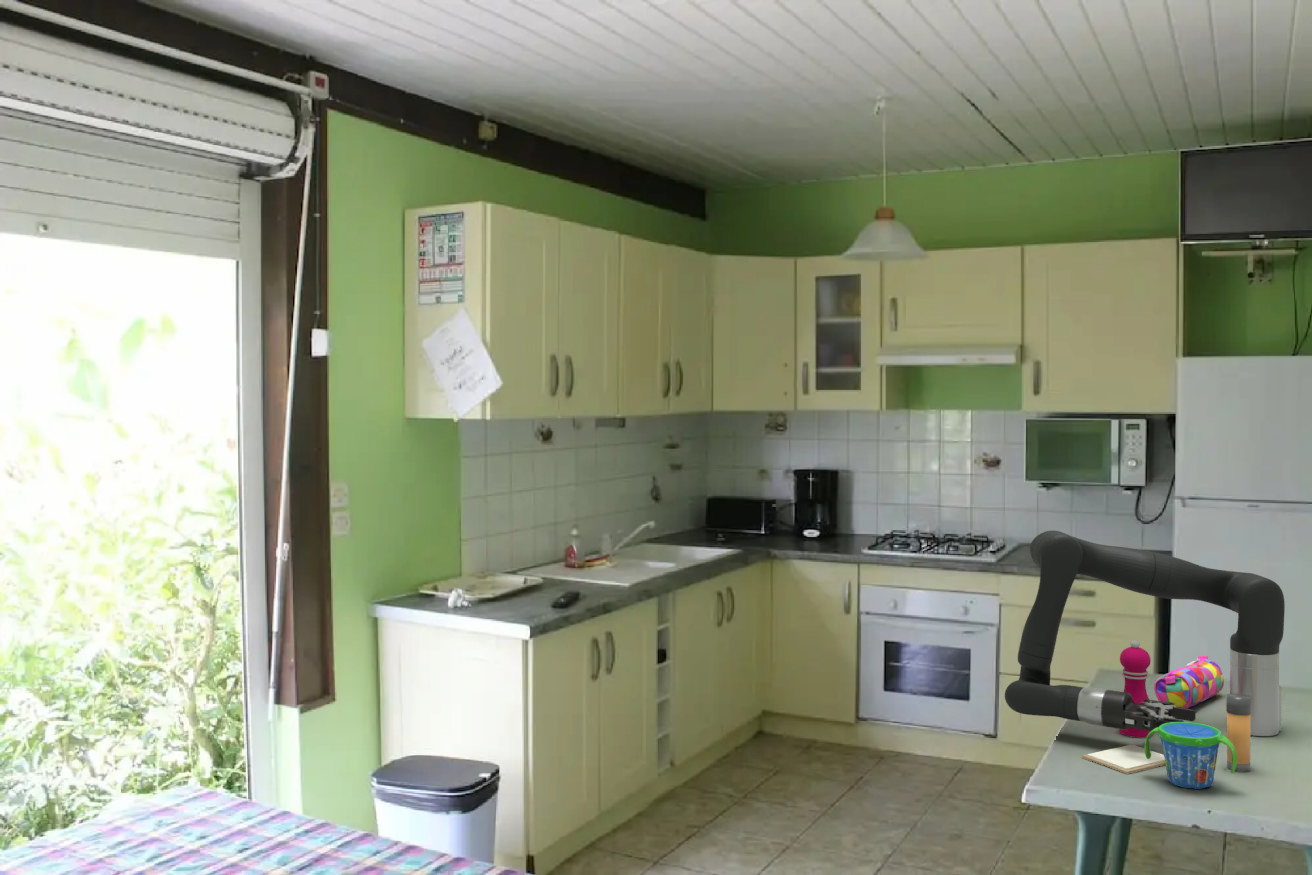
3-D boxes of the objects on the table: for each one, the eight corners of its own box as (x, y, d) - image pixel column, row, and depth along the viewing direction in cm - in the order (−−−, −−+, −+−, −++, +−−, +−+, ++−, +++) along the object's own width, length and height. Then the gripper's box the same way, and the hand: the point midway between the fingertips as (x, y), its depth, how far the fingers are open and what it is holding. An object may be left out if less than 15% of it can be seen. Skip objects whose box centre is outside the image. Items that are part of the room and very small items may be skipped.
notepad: (1131, 746, 230) (1131, 742, 230) (1177, 762, 220) (1177, 758, 220) (1081, 757, 223) (1081, 753, 223) (1127, 774, 214) (1127, 770, 214)
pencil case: (1184, 689, 272) (1184, 652, 272) (1226, 695, 266) (1226, 658, 266) (1151, 708, 257) (1151, 669, 256) (1195, 716, 250) (1195, 676, 250)
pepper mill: (1143, 740, 233) (1143, 645, 233) (1110, 732, 239) (1110, 640, 238) (1160, 733, 238) (1160, 640, 237) (1127, 725, 244) (1127, 634, 243)
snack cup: (1135, 780, 210) (1135, 727, 210) (1157, 766, 217) (1157, 715, 217) (1224, 801, 199) (1224, 744, 199) (1244, 785, 206) (1244, 731, 206)
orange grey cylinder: (1236, 763, 218) (1236, 692, 218) (1255, 769, 215) (1256, 697, 214) (1221, 766, 217) (1221, 695, 216) (1241, 773, 213) (1241, 700, 212)
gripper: (1093, 697, 225) (1180, 710, 215) (1115, 682, 236) (1198, 694, 226) (1093, 734, 226) (1180, 749, 215) (1115, 717, 237) (1198, 730, 226)
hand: (1189, 720), depth 221 cm, fingers open, 8 cm apart
